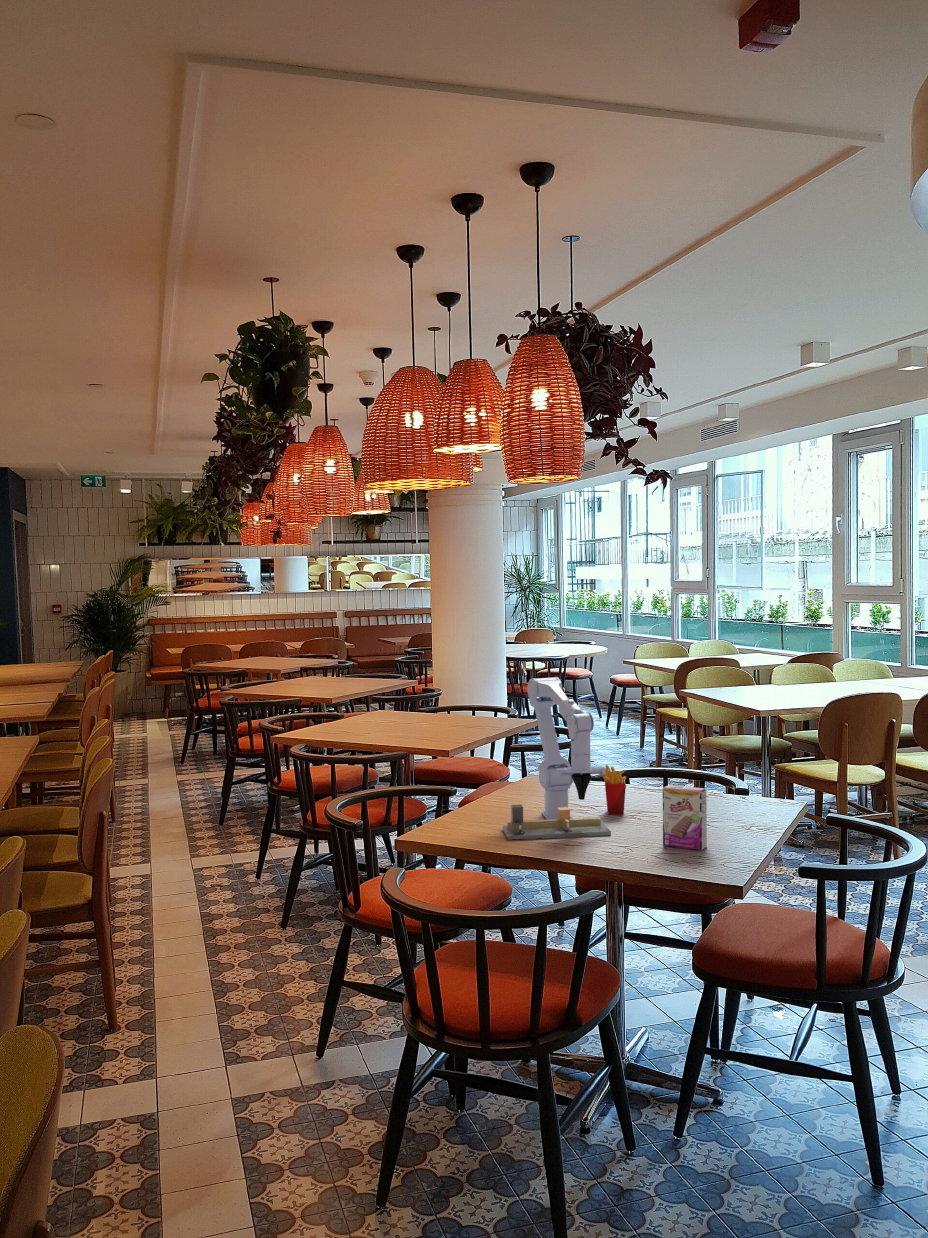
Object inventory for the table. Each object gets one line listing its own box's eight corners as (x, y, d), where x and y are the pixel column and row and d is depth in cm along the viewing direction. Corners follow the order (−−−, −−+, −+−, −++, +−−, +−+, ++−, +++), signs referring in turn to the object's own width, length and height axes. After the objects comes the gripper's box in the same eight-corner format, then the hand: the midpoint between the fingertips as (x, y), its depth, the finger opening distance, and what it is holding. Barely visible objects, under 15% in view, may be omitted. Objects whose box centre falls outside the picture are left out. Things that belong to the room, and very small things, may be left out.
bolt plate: (502, 829, 284) (502, 804, 284) (601, 825, 287) (600, 800, 287) (508, 840, 272) (507, 813, 272) (610, 835, 275) (610, 809, 275)
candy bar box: (662, 846, 263) (661, 787, 262) (668, 842, 267) (667, 784, 266) (702, 851, 257) (701, 791, 256) (707, 847, 261) (706, 787, 261)
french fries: (625, 810, 305) (624, 764, 305) (627, 816, 297) (626, 769, 297) (597, 810, 306) (597, 764, 306) (598, 816, 298) (598, 769, 298)
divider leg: (557, 823, 284) (557, 807, 284) (568, 823, 285) (567, 807, 285) (562, 830, 277) (562, 813, 276) (573, 829, 277) (573, 813, 277)
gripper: (559, 757, 278) (560, 803, 279) (607, 755, 279) (608, 801, 280) (554, 752, 285) (555, 797, 286) (602, 751, 287) (602, 795, 287)
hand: (581, 799), depth 283 cm, fingers closed
